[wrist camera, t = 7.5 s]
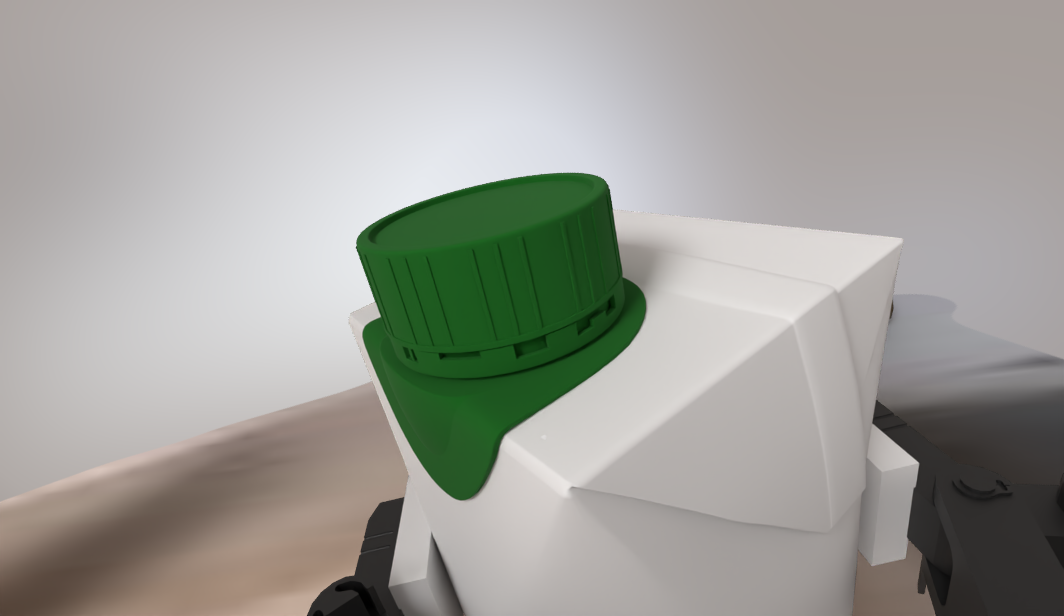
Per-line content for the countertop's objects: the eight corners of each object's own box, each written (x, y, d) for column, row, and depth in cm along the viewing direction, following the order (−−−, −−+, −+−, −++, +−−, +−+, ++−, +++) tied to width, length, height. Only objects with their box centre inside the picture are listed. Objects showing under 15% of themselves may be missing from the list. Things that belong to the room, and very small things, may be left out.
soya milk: (499, 752, 18) (273, 226, 10) (663, 588, 23) (596, 126, 15) (704, 1103, 11) (515, 354, 3) (884, 772, 16) (991, 93, 8)
